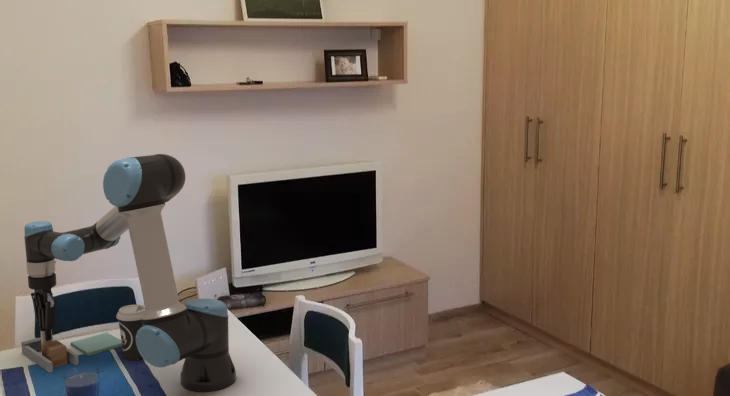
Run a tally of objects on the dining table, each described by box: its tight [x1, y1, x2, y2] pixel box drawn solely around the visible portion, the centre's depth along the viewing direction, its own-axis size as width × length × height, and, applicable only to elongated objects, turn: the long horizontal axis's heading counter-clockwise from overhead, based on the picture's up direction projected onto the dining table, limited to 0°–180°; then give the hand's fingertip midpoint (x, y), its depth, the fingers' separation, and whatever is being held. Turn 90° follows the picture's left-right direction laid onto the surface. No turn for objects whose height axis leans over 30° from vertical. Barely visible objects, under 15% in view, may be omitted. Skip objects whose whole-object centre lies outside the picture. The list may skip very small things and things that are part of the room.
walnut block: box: [41, 339, 68, 369], centre depth 208 cm, size 7×4×6 cm, turn 46°
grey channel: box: [20, 336, 80, 374], centre depth 210 cm, size 20×8×4 cm, turn 46°
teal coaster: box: [70, 332, 122, 357], centre depth 221 cm, size 12×12×1 cm
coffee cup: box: [115, 304, 145, 361], centre depth 212 cm, size 10×10×15 cm
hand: (47, 349), depth 211 cm, fingers closed
